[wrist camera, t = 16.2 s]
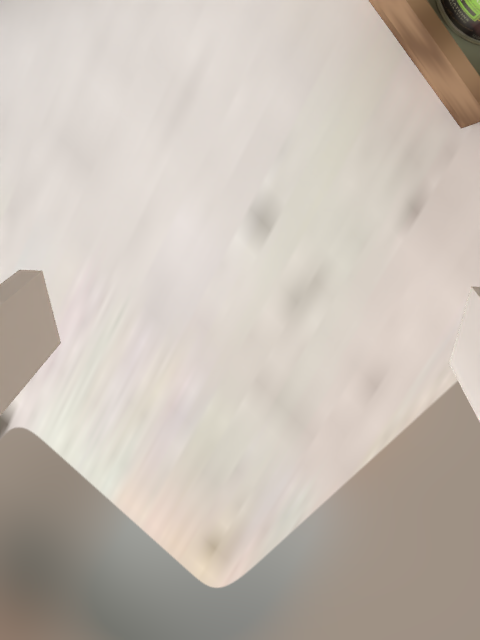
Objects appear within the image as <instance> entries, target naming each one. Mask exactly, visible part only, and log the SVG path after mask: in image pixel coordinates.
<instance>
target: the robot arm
mask: <svg viewBox="0 0 480 640" xmlns="http://www.w3.org/2000/svg"><path fill="white" fill-rule="evenodd" d="M60 343H61V342H60V338H59V334H58V330H57V326H56V322H55V319H54V315H53V311H52V307H51V303H50V299H49V295H48V291H47V288H46V284H45V280H44V276H43V272H42V271H35V270H19V271H17V272H16V273H15V274H13V275H12V276H11V277H9V278H8V279H7V280H5V281H4V282H3V283H1V284H0V416H1V414H2V413H3V412H4V411H5V409H6V408H7V407H8V406H9V405H10V403H11V402H12V401H13V400H14V399H15V397H16V396H17V395H18V394H19V393H20V391H21V390H22V389H23V388H24V387H25V385H26V384H27V383H28V382H29V381H30V379H31V378H32V377H33V376H34V375H35V373H36V372H37V371H38V370H39V369H40V367H41V366H42V365H43V364H44V363H45V361H46V360H47V359H48V358H49V357H50V355H51V354H52V353H53V352H54V351H55V349H56V348H57V347H58V346H59V345H60ZM449 364H450V366H451V368H452V370H453V372H454V374H455V376H456V378H457V380H458V382H459V383H460V385H461V387H462V389H463V391H464V393H465V395H466V397H467V399H468V401H469V402H470V404H471V406H472V408H473V410H474V412H475V414H476V416H477V418H478V420H479V422H480V287H471V290H470V293H469V297H468V300H467V304H466V307H465V311H464V314H463V317H462V321H461V324H460V328H459V331H458V335H457V338H456V342H455V345H454V348H453V352H452V355H451V359H450V362H449Z"/></svg>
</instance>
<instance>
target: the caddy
mask: <svg viewBox="0 0 480 640" xmlns="http://www.w3.org/2000/svg"><path fill="white" fill-rule="evenodd" d="M369 1H370V3H371V4H372V5H373V7H374V8H375V10H376V11H377V12H378V14H379V15H380V17H381V18H382V19H383V21H384V22H385V23H386V25H387V26H388V28H389V29H390V30H391V32H392V33H393V35H394V36H395V37H396V39H397V40H398V41H399V43H400V44H401V46H402V47H403V48H404V50H405V51H406V53H407V54H408V55H409V57H410V58H411V60H412V61H413V62H414V64H415V65H416V66H417V68H418V69H419V71H420V72H421V73H422V75H423V76H424V78H425V79H426V80H427V82H428V83H429V84H430V86H431V87H432V89H433V90H434V91H435V93H436V94H437V96H438V97H439V98H440V100H441V101H442V103H443V104H444V105H445V107H446V108H447V109H448V111H449V112H450V114H451V115H452V116H453V118H454V119H455V121H456V122H457V123H458V125H459V126H460V127H461V128H463V127H466V126H469V125H472V124H475V123H477V122H480V45H476V44H473V43H470V42H468V41H466V40H464V39H462V38H461V37H460V36H458V35H457V34H456V33H455V32H453V31H452V30H451V29H450V28H449V26H448V25H447V24H446V22H445V21H444V19H443V17H442V15H441V14H440V12H439V9H438V7H437V3H436V0H369Z"/></svg>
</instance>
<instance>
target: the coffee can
mask: <svg viewBox="0 0 480 640" xmlns="http://www.w3.org/2000/svg"><path fill="white" fill-rule="evenodd" d="M436 3H437V7H438V9H439V12H440V14H441V15H442V17H443V19H444V21H445V22H446V24H447V25H448V26H449V28H450V29H451V30H452V31H453V32H455V33H456V34H457V35H458V36H460V37H461V38H462V39H464V40H466V41H468V42H470V43H473V44H476V45H480V0H436Z"/></svg>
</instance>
